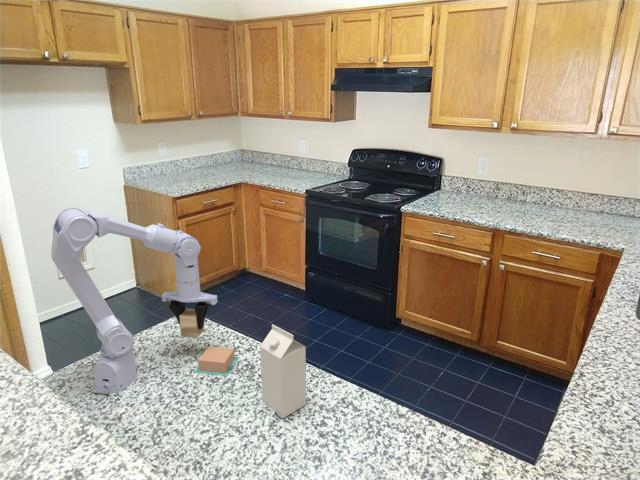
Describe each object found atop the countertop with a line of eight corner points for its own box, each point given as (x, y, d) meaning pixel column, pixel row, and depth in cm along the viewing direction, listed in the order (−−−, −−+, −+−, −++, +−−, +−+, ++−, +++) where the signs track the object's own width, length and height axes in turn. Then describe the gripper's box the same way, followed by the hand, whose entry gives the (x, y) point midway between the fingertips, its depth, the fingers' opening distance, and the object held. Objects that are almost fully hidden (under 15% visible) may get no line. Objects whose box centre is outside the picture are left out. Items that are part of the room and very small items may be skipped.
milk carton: (286, 391, 108) (284, 319, 103) (306, 405, 103) (305, 329, 98) (262, 405, 103) (259, 329, 98) (282, 419, 98) (280, 341, 93)
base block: (225, 373, 114) (224, 362, 113) (198, 370, 115) (197, 360, 114) (234, 358, 120) (234, 348, 120) (209, 356, 122) (209, 346, 121)
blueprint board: (229, 385, 110) (229, 382, 110) (183, 380, 112) (183, 377, 112) (248, 355, 124) (248, 352, 123) (206, 351, 126) (206, 348, 125)
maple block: (197, 337, 119) (195, 316, 117) (181, 336, 120) (179, 315, 118) (204, 329, 123) (202, 309, 121) (188, 328, 124) (186, 308, 122)
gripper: (220, 275, 120) (223, 322, 123) (169, 272, 122) (173, 318, 126) (209, 285, 113) (213, 334, 117) (155, 281, 115) (161, 330, 119)
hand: (192, 326), depth 121 cm, fingers closed on maple block, 4 cm apart
